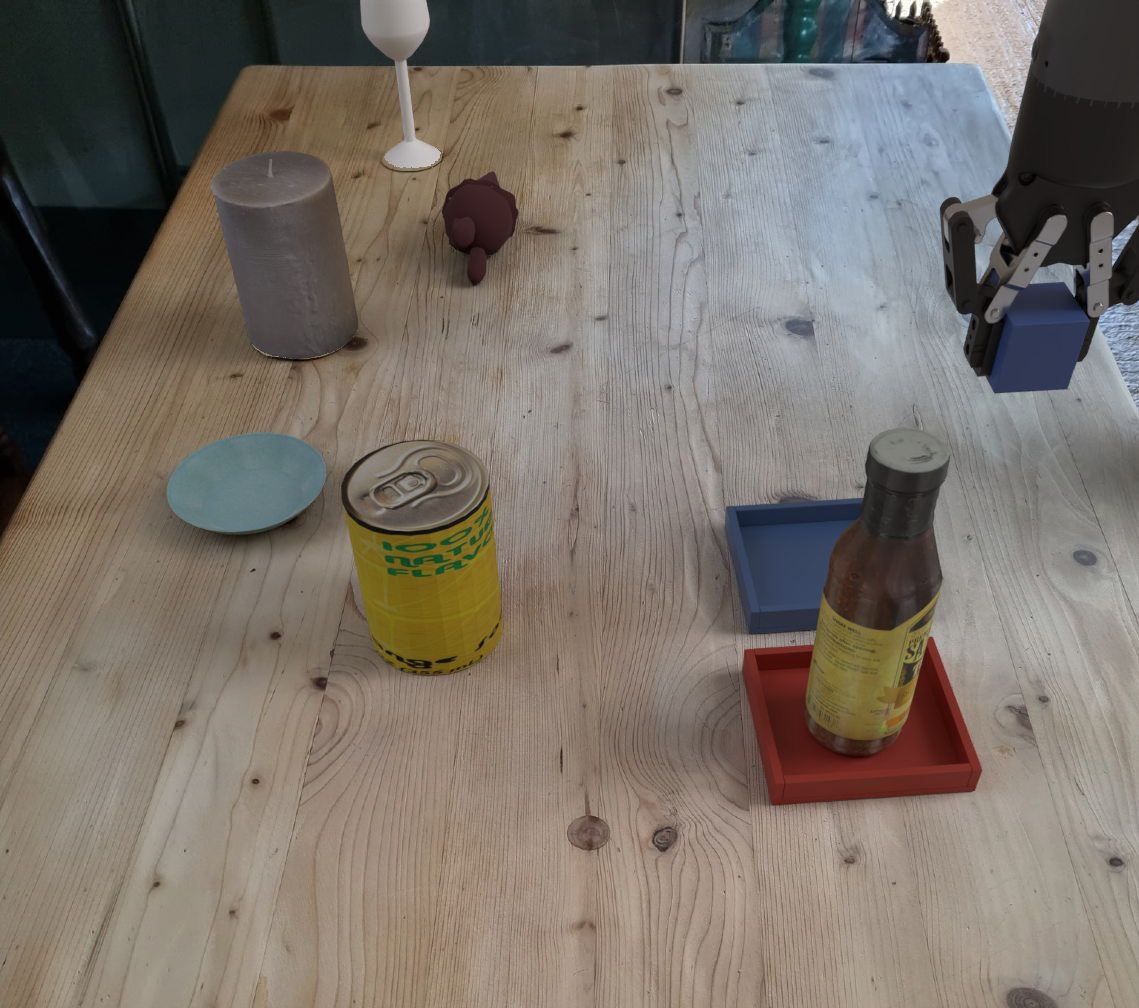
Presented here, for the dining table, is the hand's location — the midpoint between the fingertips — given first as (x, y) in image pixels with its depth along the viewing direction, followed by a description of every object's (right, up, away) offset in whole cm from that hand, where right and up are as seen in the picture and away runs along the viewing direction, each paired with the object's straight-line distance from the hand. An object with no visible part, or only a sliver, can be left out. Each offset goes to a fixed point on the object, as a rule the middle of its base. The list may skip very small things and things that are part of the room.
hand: (1021, 365), depth 74 cm
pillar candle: (-51, +14, +33) cm, 63 cm away
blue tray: (-10, -11, +11) cm, 18 cm away
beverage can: (-37, -15, +8) cm, 41 cm away
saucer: (-52, -5, +18) cm, 55 cm away
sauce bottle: (-10, -22, +1) cm, 24 cm away
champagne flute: (-44, +40, +56) cm, 82 cm away
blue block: (0, 0, 0) cm, 0 cm away
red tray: (-10, -22, +1) cm, 24 cm away
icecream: (-36, +25, +42) cm, 61 cm away
